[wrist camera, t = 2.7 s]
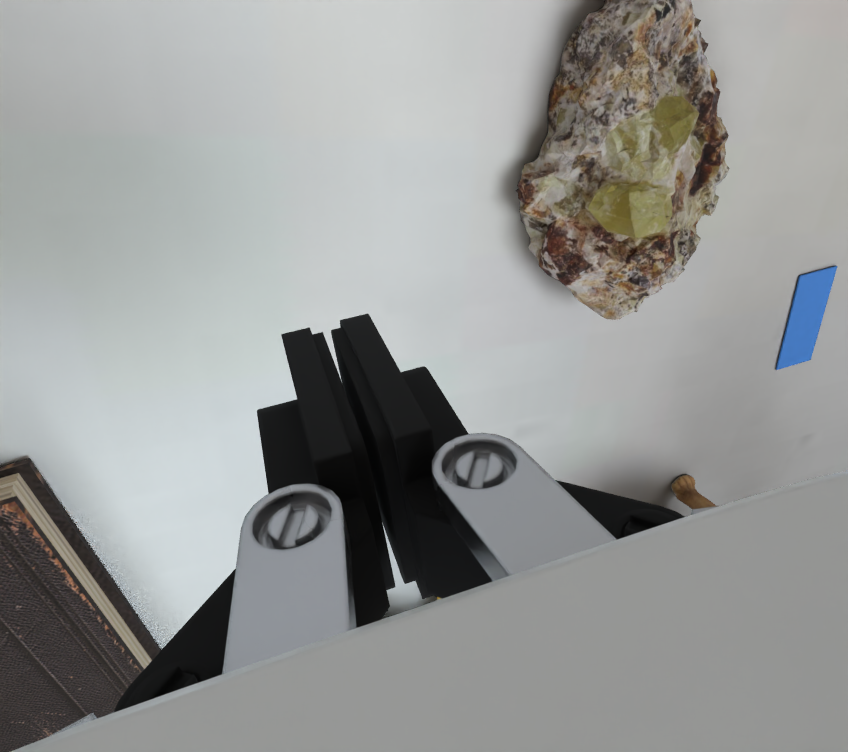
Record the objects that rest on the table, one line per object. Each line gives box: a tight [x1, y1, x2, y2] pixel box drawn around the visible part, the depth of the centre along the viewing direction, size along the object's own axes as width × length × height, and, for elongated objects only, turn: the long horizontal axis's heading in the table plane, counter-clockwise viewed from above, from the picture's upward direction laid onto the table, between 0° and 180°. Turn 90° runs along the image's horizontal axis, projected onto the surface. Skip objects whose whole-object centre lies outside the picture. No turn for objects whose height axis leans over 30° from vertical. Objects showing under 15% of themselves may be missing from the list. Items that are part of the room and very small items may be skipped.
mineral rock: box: [516, 0, 729, 320], centre depth 21 cm, size 11×4×8 cm
